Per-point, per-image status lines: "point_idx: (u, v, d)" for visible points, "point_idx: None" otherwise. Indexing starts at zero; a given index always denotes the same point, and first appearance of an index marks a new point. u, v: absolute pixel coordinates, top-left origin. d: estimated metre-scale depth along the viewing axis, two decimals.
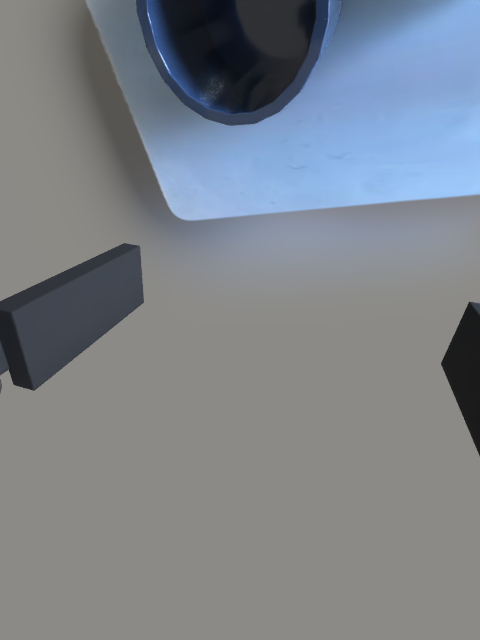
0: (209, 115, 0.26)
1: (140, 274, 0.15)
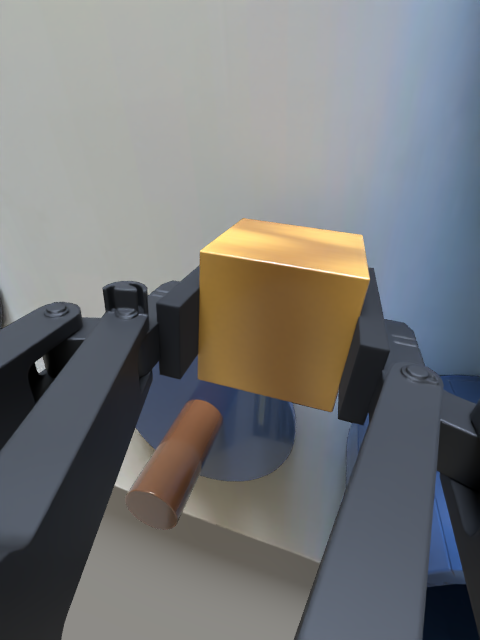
0: None
1: None
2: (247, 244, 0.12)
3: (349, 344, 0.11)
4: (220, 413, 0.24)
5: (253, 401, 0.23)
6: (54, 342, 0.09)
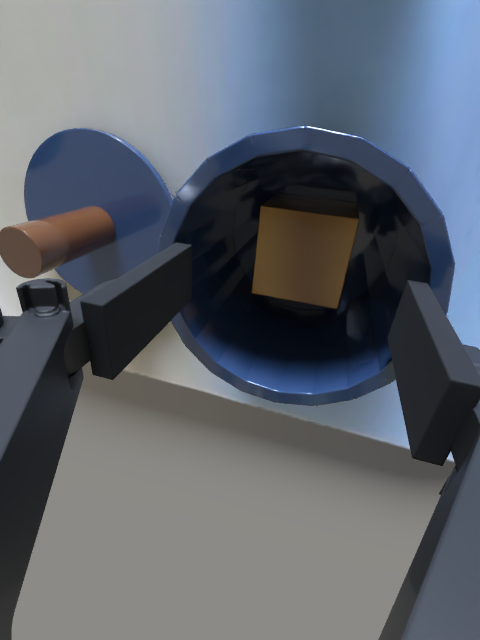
0: (390, 375, 0.15)
1: (190, 272, 0.16)
2: (286, 204, 0.19)
3: (348, 261, 0.18)
4: (111, 218, 0.26)
5: (135, 196, 0.25)
6: None
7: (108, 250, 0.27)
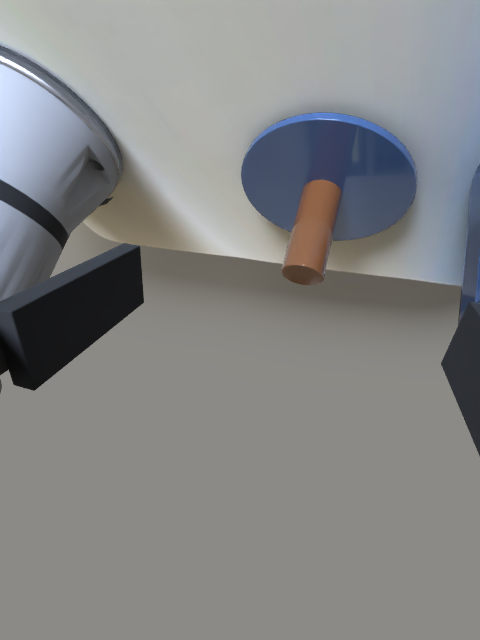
0: None
1: (140, 274, 0.15)
2: None
3: None
4: (338, 186, 0.26)
5: (371, 169, 0.24)
6: None
7: None
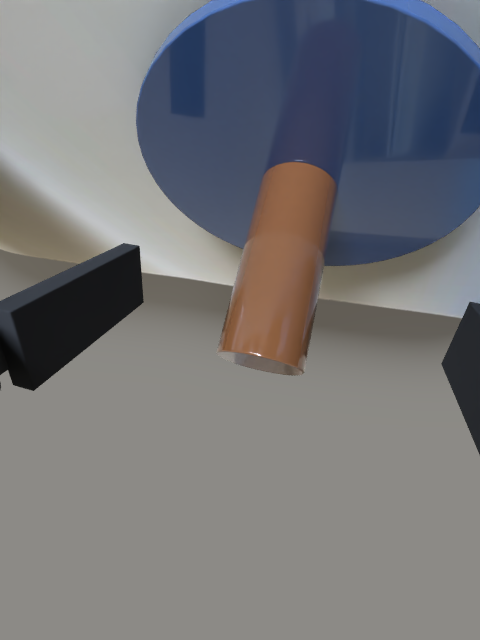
0: None
1: (140, 274, 0.15)
2: None
3: None
4: (331, 176, 0.13)
5: (406, 136, 0.11)
6: None
7: None
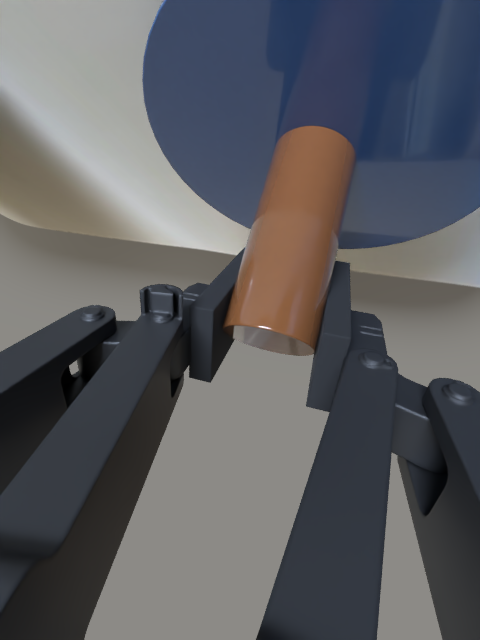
0: None
1: None
2: None
3: None
4: (350, 143, 0.12)
5: (437, 91, 0.10)
6: (88, 346, 0.09)
7: None
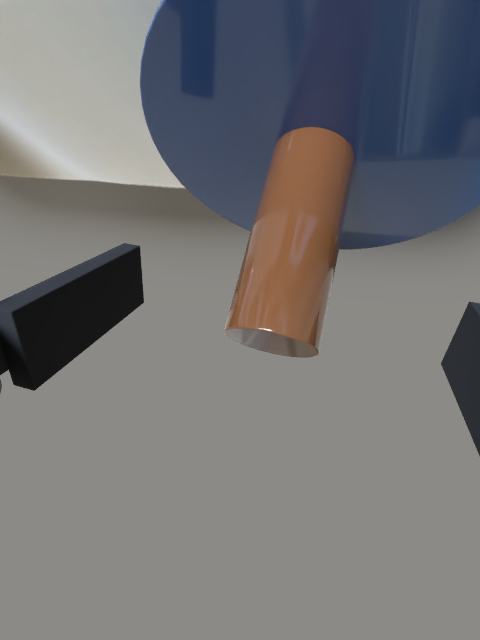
0: None
1: (140, 274, 0.15)
2: None
3: None
4: (349, 143, 0.12)
5: (436, 91, 0.10)
6: None
7: None
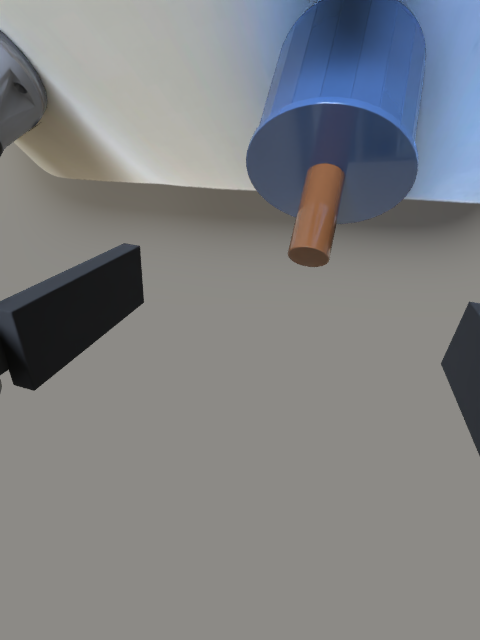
0: None
1: (140, 274, 0.15)
2: None
3: None
4: (342, 170, 0.27)
5: (375, 152, 0.24)
6: None
7: None
